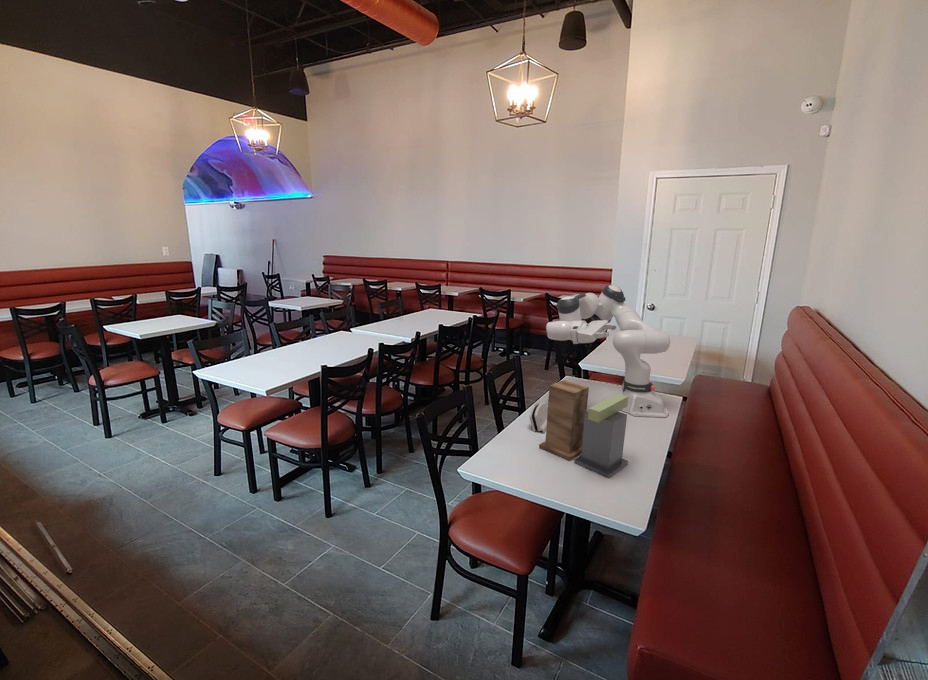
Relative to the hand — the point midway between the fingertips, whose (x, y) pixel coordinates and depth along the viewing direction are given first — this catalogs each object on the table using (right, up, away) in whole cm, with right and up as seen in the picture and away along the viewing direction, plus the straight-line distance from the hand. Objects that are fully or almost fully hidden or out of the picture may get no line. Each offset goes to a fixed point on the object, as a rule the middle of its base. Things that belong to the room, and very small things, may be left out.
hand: (612, 331), depth 185 cm
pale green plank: (-10, -30, -24) cm, 40 cm away
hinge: (-28, -41, +12) cm, 51 cm away
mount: (-11, -50, -20) cm, 55 cm away
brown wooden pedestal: (-22, -47, -9) cm, 52 cm away
